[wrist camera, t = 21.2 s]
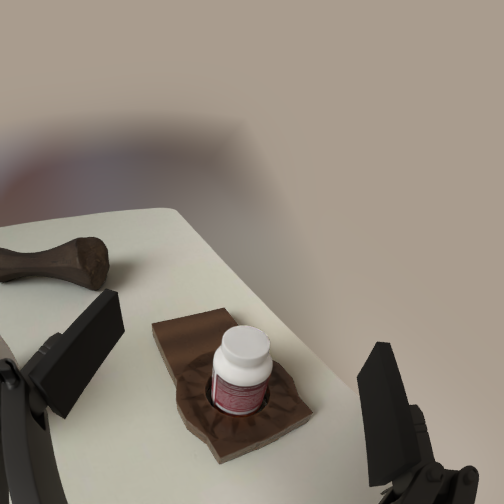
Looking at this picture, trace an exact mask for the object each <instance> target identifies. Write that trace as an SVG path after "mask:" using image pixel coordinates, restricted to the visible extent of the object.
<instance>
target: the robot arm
mask: <svg viewBox="0 0 504 504" xmlns="http://www.w3.org/2000/svg"><path fill="white" fill-rule="evenodd" d="M124 332H125V329H124V325H123V320H122V314H121V309H120V303H119V297H118V292H116V291H112V290H109V289H105V290H104V291H103V292H102V293H101V294H100V295H99V296H98V297H97V298H96V299H95V300H94V301H93V302H92V303H91V304H90V305H89V306H88V307H87V309H86V310H85V311H84V312H83V313H82V314H81V315H80V316H79V317H78V318H77V319H76V320H75V321H74V322H73V323H72V324H71V326H70V327H69V328H68V329H67V330H66V331H65V332H64V333H63V334H61V333H59V332H58V333H56V334H54V335H53V336H51V337H49V338H48V340H47V341H46V342H45V343H44V344H43V346H41V347H40V348H39V350H38V351H37V352H36V353H35V354H34V355H33V356H32V358H31V359H30V360H29V361H28V362H27V363H26V365H25V366H24V367H23V368H22V369H21V370H19V369H18V367H17V365H16V364H15V362H14V361H13V360H12V359H10V358H4V359H1V360H0V504H9V492H10V496H11V500H12V504H68V503H67V500H66V497H65V494H64V490H63V487H62V484H61V480H60V476H59V473H58V469H57V465H56V460H55V456H54V451H53V446H52V441H51V435H50V429H49V422H48V414H47V411H46V408H47V406H49V407H50V408H51V410H52V411H53V412H54V413H56V414H57V415H59V416H60V417H62V418H64V419H66V417H67V415H68V414H69V412H70V411H71V409H72V408H73V406H74V404H75V403H76V401H77V400H78V398H79V397H80V395H81V394H82V392H83V391H84V389H85V388H86V386H87V385H88V383H89V382H90V380H91V379H92V377H93V376H94V374H95V373H96V371H97V370H98V369H99V367H100V366H101V364H102V363H103V361H104V360H105V358H106V357H107V356H108V354H109V353H110V351H111V350H112V349H113V347H114V346H115V344H116V343H117V342H118V340H119V339H120V337H121V336H122V335H123V333H124ZM357 382H358V388H359V395H360V401H361V408H362V416H363V423H364V432H365V440H366V450H367V461H368V474H369V487H374V486H382V485H386V484H388V483H389V482H391V481H392V484H393V486H391V487H390V488H388V489H386V490H384V491H383V492H382V493H381V495H383V494H385V493H386V494H385V496H384V497H383V498H382V500H381V501H380V502H379V504H474V503H475V498H476V493H477V487H478V482H479V474H478V471H477V469H476V468H475V467H473V466H466V467H464V468H462V469H461V470H459V471H458V470H448V469H444V467H443V466H442V465H441V464H440V463H438V462H436V461H435V459H434V456H433V451H432V447H431V442H430V438H429V434H428V432H427V426H426V424H425V419H424V415H423V412H422V411H421V410H420V408H419V407H418V406H417V405H409V403H408V399H407V396H406V393H405V389H404V385H403V382H402V379H401V375H400V372H399V369H398V366H397V363H396V360H395V357H394V354H393V351H392V348H391V345H390V343H385V342H376V344H375V346H374V348H373V350H372V352H371V353H370V355H369V357H368V359H367V360H366V362H365V364H364V366H363V367H362V369H361V371H360V373H359V374H358V376H357Z"/></svg>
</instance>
